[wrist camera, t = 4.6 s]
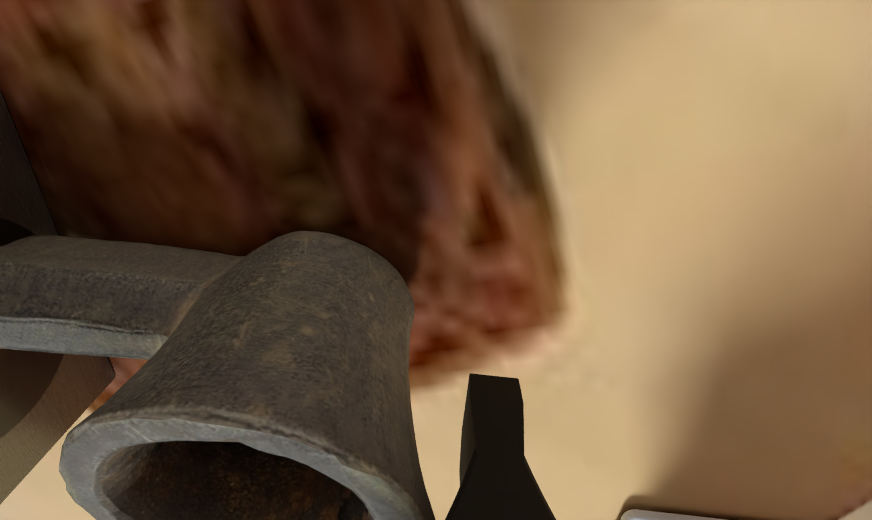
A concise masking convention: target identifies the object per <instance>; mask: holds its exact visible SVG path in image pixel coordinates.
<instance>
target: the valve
mask: <svg viewBox="0 0 872 520" xmlns="http://www.w3.org/2000/svg"><path fill="white" fill-rule="evenodd" d="M43 235H53V236H59V235H58V233H57V230H56V228H55V225H54V223H53V220H52V218H51V215H50V213H49V210H48V208H47V205H46V203H45V200H44V198H43V195H42V193H41V190H40V188H39V185H38V183H37V180H36V178H35V175H34V173H33V170H32V168H31V165H30V163H29V161H28V158H27V156H26V153H25V151H24V148H23V146H22V143H21V141H20V138H19V136H18V133H17V131H16V128H15V126H14V123H13V121H12V118H11V116H10V113H9V111H8V108H7V106H6V103H5V101H4V98H3V96H2V93H1V91H0V247H1V246H4V245H7V244H9V243H12V242H14V241H16V240H19V239H22V238H26V237H29V236H43ZM114 378H115V374H114V372H113V369H112V367H111V364H110V362H109V359H108V357H106V356H91V355H76V354H60V353H49V352H38V351H25V350H13V349H3V348H0V504H1V503H2V502H3V501H4V500H5V499H6V497H7V496H8V495H9V494H10V493H11V492H12V491H13V490H14V489H15V488H16V486H17V485H18V484H19V483H20V482H21V481H22V480H23V479H24V478H25V476H26V475H27V474H28V473H29V472H30V471H31V470H32V469H33V468H34V467H35V465H36V464H37V463H38V462H39V461H40V460H41V459H42V458H43V457H44V456H45V454H46V453H47V452H48V451H49V450H50V449H51V448H52V447H53V446H54V444H55V443H56V442H57V441H58V440H59V439H60V438H61V437H62V436H63V435H64V433H65V432H66V431H67V430H68V429H69V428H70V427H71V426H72V425H73V424H74V422H75V421H76V420H77V419H78V418H79V417H80V416H81V415H82V414H83V412H84V411H85V410H86V409H87V408H88V407H89V406H90V405H91V404H92V403H93V401H94V400H95V399H96V398H97V397H98V396H99V395H100V394H101V393H102V392H103V390H104V389H105V388H106V387H107V386H108V385H109V384H110V383H111V382H112V380H113V379H114Z"/></svg>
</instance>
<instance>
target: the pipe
mask: <svg viewBox="0 0 872 520" xmlns="http://www.w3.org/2000/svg"><path fill="white" fill-rule="evenodd" d="M414 306H415V305H414V302H413V299H412V296H411V293H410V291H409V289H408V287H407V285H406V284H405V282H404V280H403V278H402V276H401V275H400V274H399V272H398V271H397V270H396V269H395V268H394V267H393V266H392V265H391V264H390V263H389V262H388V261H387V260H386V259H385V258H383V257H382V256H380V255H379V254H377V253H376V252H374V251H372V250H371V249H369V248H368V247H366V246H363V245H361V244H359V243H357V242H354V241H352V240H349V239H346V238H343V237H340V236H337V235H333V234H329V233H323V232H316V231H297V232H291V233H288V234H285V235H282V236H279V237H277V238H275V239H273V240H271V241H269V242H268V243H266V244H264V245H262V246H261V247H259V248H257V249H256V250H254V251H252V252H251V253H249V254H248V255H246V256H234V255H227V254H222V253H216V252H208V251H202V250H195V249H188V248H179V247H172V246H165V245H155V244H148V243H137V242H123V241H107V240H98V239H88V238H78V237H67V236H53V235H43V236H29V237H26V238H22V239H19V240H16V241H14V242H12V243H9V244H7V245H4V246H1V247H0V348H3V349H13V350H25V351H38V352H49V353H60V354H76V355H91V356H106V357H121V358H135V359H149V361H148V362H147V363H146V364H145V365H144V366H143V367H142V368H141V369H140V370H139V371H138V372H137V373H136V374H134V375H133V376H132V377H131V378H130V379H129V380H128V381H127V382H126V383H125V384H124V385H123V386H122V387H121V388H120V389H119V390H118V391H117V392H116V393H115V394H114V395H113V396H112V397H110V398H109V399H108V400H107V401H106V402H105V403H104V404H103V405H102V406H101V407H99V408H98V409H97V410H96V411H94V412H93V413H92V414H91V415H89V416H88V417H87V418H86V419H85V420H83V421H82V422H81V423H79V424H78V425H77V426H75V427H74V428H73V429H72V430H71V431H70V432H69V433H68V434H67V437H66V439H65V441H64V444H63V446H62V450H61V457H60V464H59V472H60V474H61V476H62V477H63V479H64V481H65V483H66V490H67V492H68V493H69V494H70V496H71V497H72V499H73V500H74V501H75V503H77V504H78V505H80V506H81V507H82V508H84V509H85V510H86V511H87V512H88V513H90V514H91V515H92V516H93V517H94V518H95V519H97V520H435V517H434V514H433V510H432V507H431V504H430V501H429V498H428V495H427V492H426V489H425V485H424V481H423V477H422V472H421V468H420V464H419V458H418V452H417V446H416V440H415V433H414V426H413V419H412V410H411V401H410V385H409V377H408V369H409V342H410V332H411V328H412V323H413V317H414Z"/></svg>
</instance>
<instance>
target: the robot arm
mask: <svg viewBox="0 0 872 520" xmlns="http://www.w3.org/2000/svg"><path fill="white" fill-rule="evenodd" d="M445 520H556V519H555V517H554V515H553V513H552V511H551V510H550V508H549V506H548V504H547V502H546V500H545V498H544V496H543V494H542V492H541V490H540V488H539V486H538V484H537V482H536V480H535V478H534V476H533V474H532V472H531V470H530V467H529V465H528V463H527V461H526V459H525V456H524V416H523V399H522V394H521V389H520V384H519V380H518V379H517V378H508V377H498V376H489V375H479V374H470V375H469V382H468V390H467V397H466V404H465V411H464V419H463V426H462V438H461V454H460V488H459V491H458V493H457V495H456V498H455V500H454V502H453V504H452V506H451V508H450V511H449V513H448V515H447V517H446V519H445ZM620 520H727V519H718V518H709V517H700V516H691V515H682V514H673V513H664V512H655V511H646V510H637V509H632V510H628V511H626V512H625V513H624V514H623V515H622V517H621V519H620Z"/></svg>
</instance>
